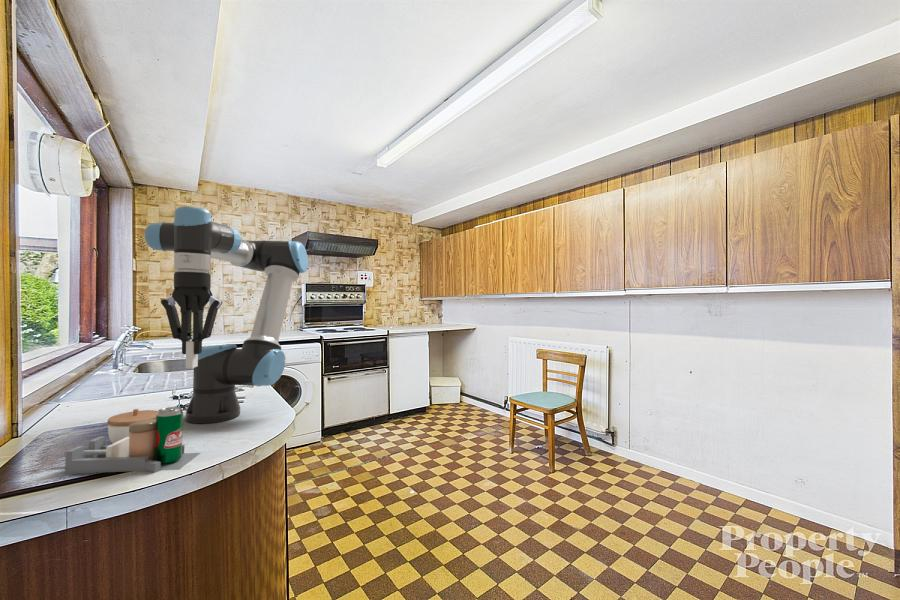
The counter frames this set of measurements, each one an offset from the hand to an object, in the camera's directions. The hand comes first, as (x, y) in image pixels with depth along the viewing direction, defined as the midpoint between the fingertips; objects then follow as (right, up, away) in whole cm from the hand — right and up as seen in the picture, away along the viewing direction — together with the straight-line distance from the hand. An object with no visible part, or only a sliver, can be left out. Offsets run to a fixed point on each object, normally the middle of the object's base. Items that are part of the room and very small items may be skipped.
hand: (191, 367), depth 94 cm
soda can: (-1, -21, -6) cm, 22 cm away
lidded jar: (-17, -21, +4) cm, 28 cm away
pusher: (-17, -20, -8) cm, 27 cm away
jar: (-7, -21, -7) cm, 23 cm away
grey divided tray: (-8, -21, -7) cm, 23 cm away
